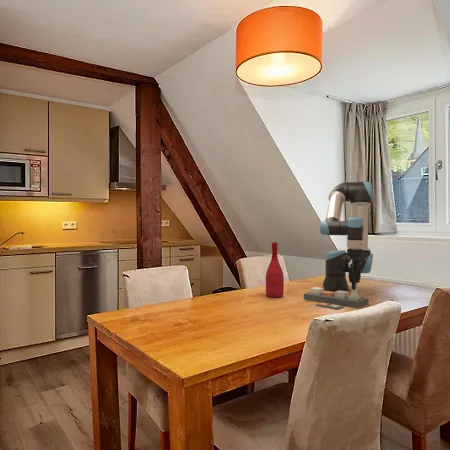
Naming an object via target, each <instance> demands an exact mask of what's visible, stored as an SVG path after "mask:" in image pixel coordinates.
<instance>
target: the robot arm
mask: <svg viewBox="0 0 450 450" xmlns="http://www.w3.org/2000/svg"><path fill="white" fill-rule="evenodd" d="M372 185H373V184H372V183H371V182H370V181H348V182H345V181H344V182H341V183H339V184H337V185H336V186H334V187H333V188H332V189H331V190H330V192H329V194H328V201H329V202H328V207H327V212H326V216H325V220H321V221H320V224H319V233H320V234H321V235H322V236H346V239H347V240H346V247H347V250H345V249H339V250H331V251H328V252H326V254H325V259H324V261H325V276H324V280H323V283H322V288H324V291H332V292H336V291H339V290H340V291H348V292H349V290H350V288H351V294H350V295H351V296H358V295H359V283H361V277H362V276H361V275H362V274H369V273H371V271H372V265H373V258H374V253H372V252H371V249H370V248H369V246H368V245H369V207H370V206H371V205H372V202H374V194H373V193H374V192H373V186H372ZM346 202H349V204H350V205H351V206H352V217H348V218H347V219H346V220H344V221H343V220H341V217H342V216H341V215H342V210H343V209H342V208H343V204H344V203H346ZM346 273H347V274H348V279H347V278H346V277H347V276H346V275H347V274H346ZM349 283H351V287H349Z"/></svg>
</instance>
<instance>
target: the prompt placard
mask: <svg viewBox="0 0 450 450" xmlns="http://www.w3.org/2000/svg"><path fill="white" fill-rule="evenodd" d="M315 307H320V308H326V309H331V310H341V309H344V308H345V306H341V305H335V304H329V303H323V302H318V303H316V304H315Z"/></svg>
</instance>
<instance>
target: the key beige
mask: <svg viewBox="0 0 450 450" xmlns="http://www.w3.org/2000/svg"><path fill="white" fill-rule="evenodd" d="M334 292H335V297H337V298H344V299H345V298H347V297H348V295H349V290H348V291H340V290H339V291H334Z"/></svg>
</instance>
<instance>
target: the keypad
mask: <svg viewBox="0 0 450 450" xmlns="http://www.w3.org/2000/svg"><path fill="white" fill-rule="evenodd" d="M350 295H351V294H348V296H350ZM303 300H305V301H310V302H311V301H313V302H318V303H327V304H333V305H339V306H344V307H348V308H352V309H353V308H354V309H361V308H363V307H365V306H367V305H369V297H364V296H362V299H361V300H358V301H357V300H350V299H348V297H347V298H345V299H344V298H337V297H335V296H332V297H331V296H324V295H322V294H320V295H318V294H311V291H308V292H305V293H303Z"/></svg>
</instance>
